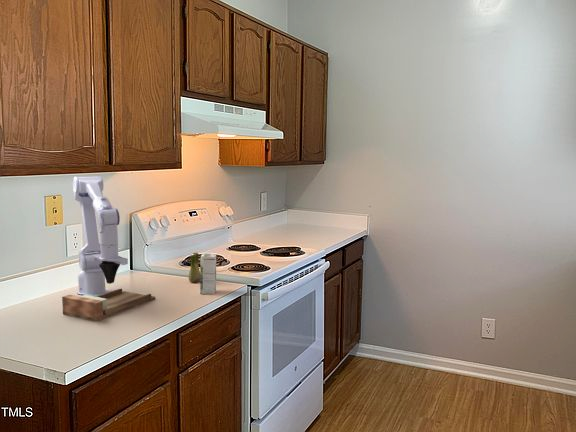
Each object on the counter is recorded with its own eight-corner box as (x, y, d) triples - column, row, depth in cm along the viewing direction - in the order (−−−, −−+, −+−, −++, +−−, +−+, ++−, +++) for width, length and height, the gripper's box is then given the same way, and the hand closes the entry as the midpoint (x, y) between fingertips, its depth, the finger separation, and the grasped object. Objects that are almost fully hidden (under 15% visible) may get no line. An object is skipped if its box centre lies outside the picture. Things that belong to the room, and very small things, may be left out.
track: (63, 314, 178) (62, 296, 177) (124, 293, 202) (123, 278, 202) (96, 321, 171) (95, 303, 170) (155, 299, 196) (154, 283, 195)
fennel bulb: (192, 284, 217) (192, 255, 215) (185, 282, 220) (184, 253, 219) (203, 281, 221) (203, 253, 219) (196, 279, 224) (196, 251, 223)
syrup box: (201, 290, 208) (200, 253, 206) (216, 290, 209) (216, 253, 207) (200, 294, 202) (199, 256, 200) (215, 294, 203) (215, 256, 201)
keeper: (76, 309, 179) (75, 297, 179) (85, 306, 183) (85, 294, 182) (98, 313, 175) (97, 301, 174) (107, 310, 178) (106, 298, 178)
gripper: (84, 244, 183) (86, 282, 185) (116, 248, 177) (117, 288, 179) (100, 240, 190) (101, 278, 191) (131, 244, 183) (132, 283, 185)
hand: (110, 282), depth 185 cm, fingers closed
